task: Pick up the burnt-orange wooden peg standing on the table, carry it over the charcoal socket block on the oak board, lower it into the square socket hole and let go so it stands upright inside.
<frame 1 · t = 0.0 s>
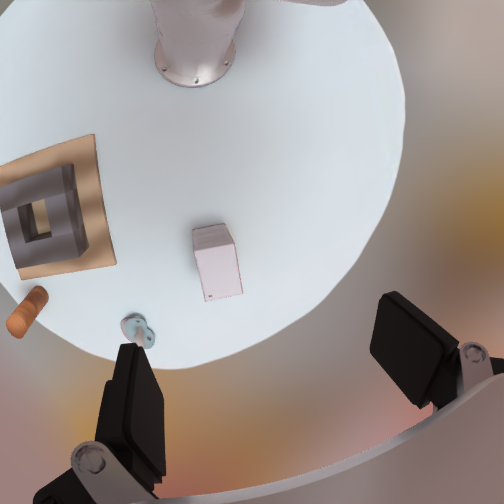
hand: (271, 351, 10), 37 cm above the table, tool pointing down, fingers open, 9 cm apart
peg: (40, 294, 42), on the table
small box: (212, 247, 47), on the table
pacifier: (137, 328, 49), on the table
socket: (49, 212, 38), on the table
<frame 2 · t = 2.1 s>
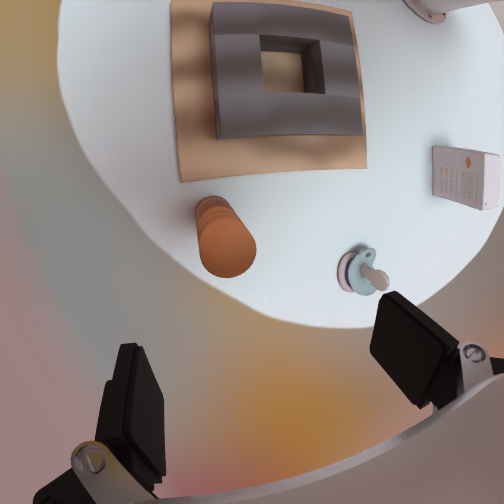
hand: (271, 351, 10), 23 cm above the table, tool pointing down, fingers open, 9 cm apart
peg: (213, 213, 30), on the table
small box: (441, 169, 35), on the table
pacifier: (354, 268, 38), on the table
socket: (274, 77, 26), on the table
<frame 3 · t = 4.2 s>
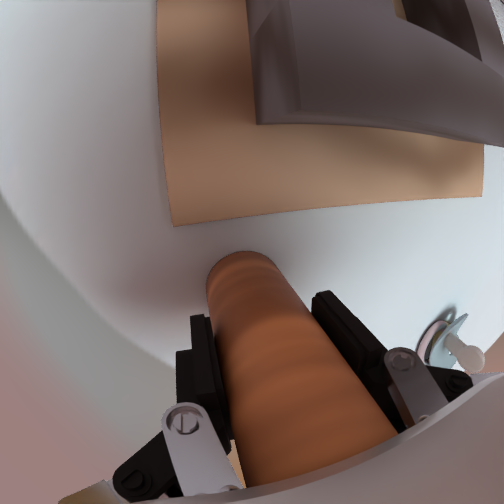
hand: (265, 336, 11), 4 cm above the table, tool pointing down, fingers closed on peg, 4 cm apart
peg: (243, 286, 15), on the table, touching gripper
pacifier: (434, 338, 22), on the table
socket: (361, 20, 11), on the table
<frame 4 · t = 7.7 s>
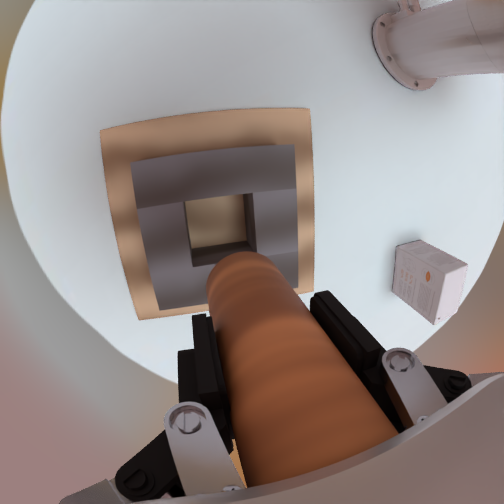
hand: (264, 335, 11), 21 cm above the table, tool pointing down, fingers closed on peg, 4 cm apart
peg: (244, 287, 15), point 16 cm above the table, touching gripper
small box: (405, 265, 39), on the table
socket: (215, 215, 30), on the table
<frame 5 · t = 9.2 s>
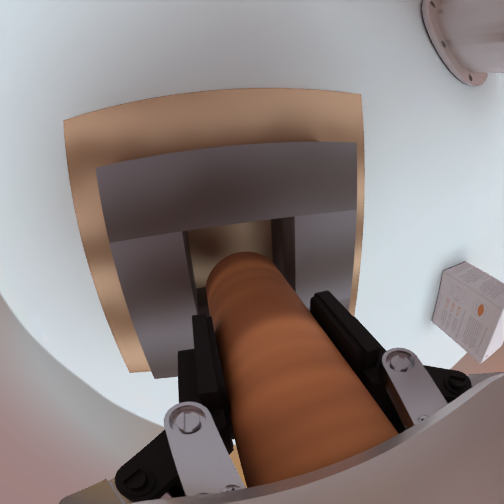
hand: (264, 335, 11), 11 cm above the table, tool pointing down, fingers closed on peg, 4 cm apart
peg: (244, 287, 15), point 7 cm above the table, touching gripper
small box: (448, 290, 30), on the table
socket: (229, 240, 21), on the table
when the fingers open (8 cm above the table, at t = 10.7 s): peg drops 2 cm, resting on socket.
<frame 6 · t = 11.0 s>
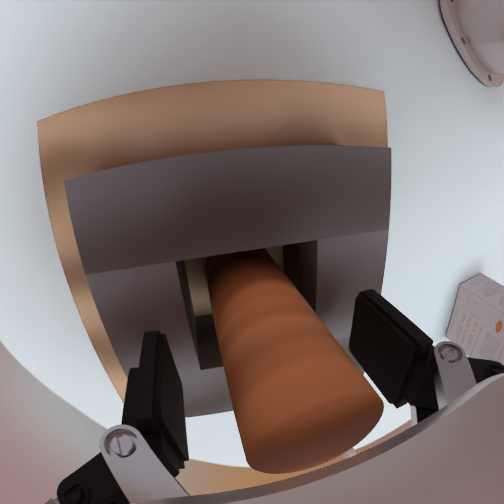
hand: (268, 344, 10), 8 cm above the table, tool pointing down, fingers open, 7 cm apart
peg: (237, 267, 17), point 1 cm above the table, touching socket
small box: (462, 303, 27), on the table
socket: (233, 261, 18), on the table
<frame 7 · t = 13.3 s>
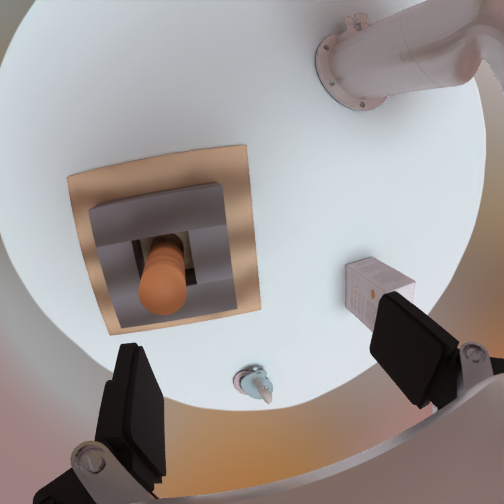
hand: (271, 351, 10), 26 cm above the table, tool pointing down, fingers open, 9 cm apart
peg: (167, 248, 32), point 1 cm above the table, touching socket
small box: (358, 281, 43), on the table
pacifier: (250, 378, 44), on the table
socket: (166, 246, 33), on the table
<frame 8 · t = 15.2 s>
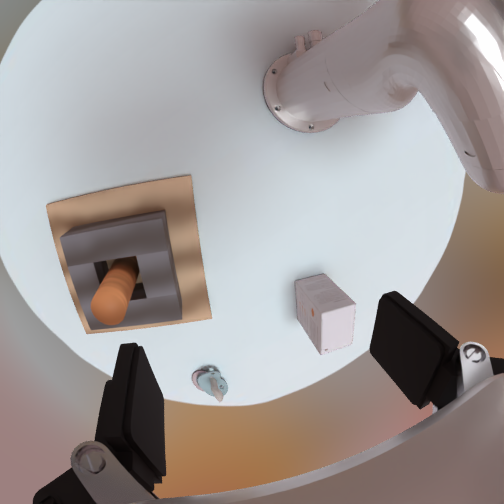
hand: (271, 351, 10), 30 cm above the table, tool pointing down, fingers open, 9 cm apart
peg: (127, 265, 37), point 1 cm above the table, touching socket
small box: (310, 295, 47), on the table
pacifier: (208, 377, 49), on the table
socket: (128, 262, 38), on the table
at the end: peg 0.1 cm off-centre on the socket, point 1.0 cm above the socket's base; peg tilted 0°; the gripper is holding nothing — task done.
